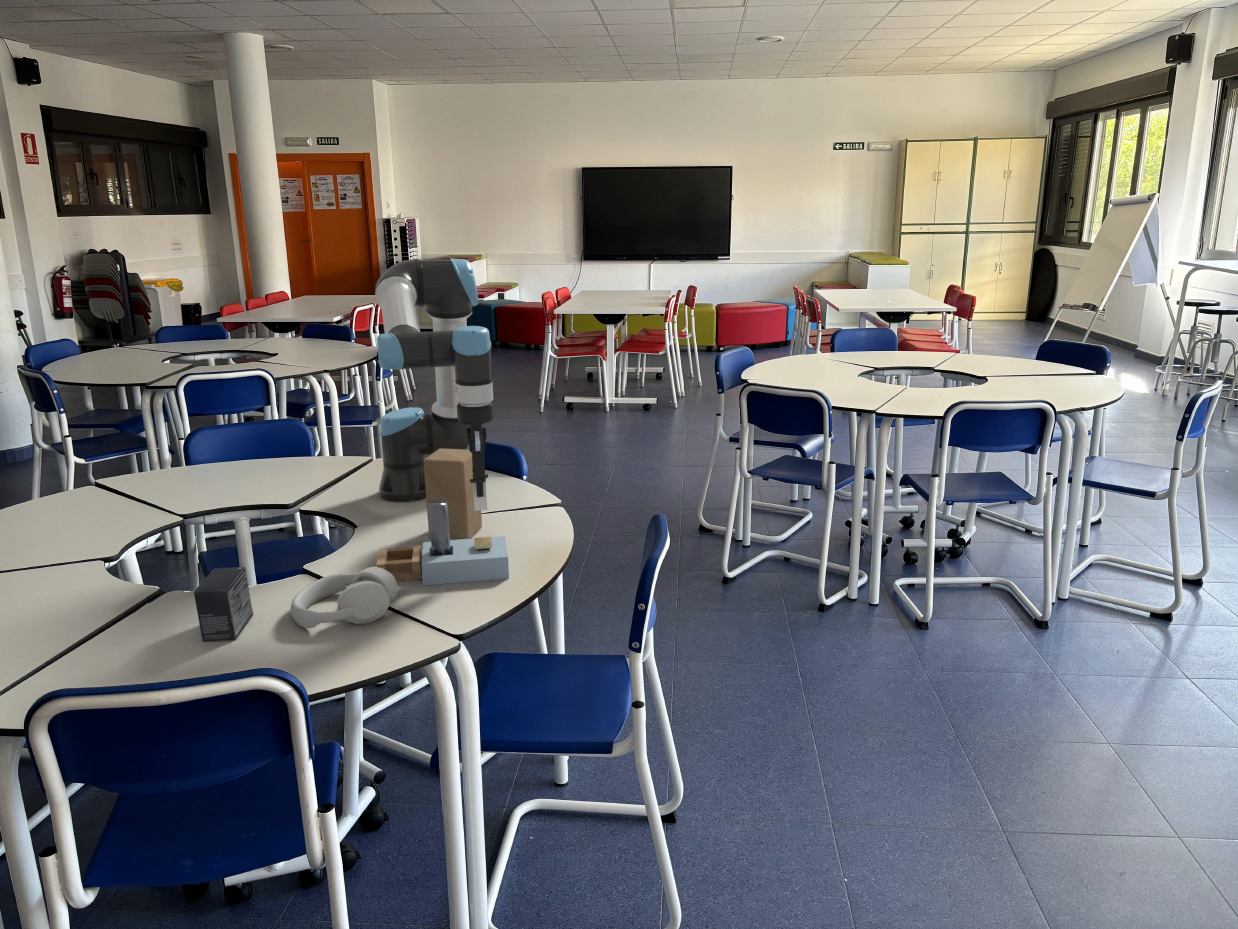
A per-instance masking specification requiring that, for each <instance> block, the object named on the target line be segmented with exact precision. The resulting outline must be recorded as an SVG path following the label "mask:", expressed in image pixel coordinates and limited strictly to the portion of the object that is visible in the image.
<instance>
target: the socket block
mask: <svg viewBox="0 0 1238 929" xmlns="http://www.w3.org/2000/svg"><path fill="white" fill-rule="evenodd" d="M490 537H491V542H492V548H488V550H480V551H479V549H475V541H474V538H475V537H474V538H473V537H472V538H471V539H460V540H450V548H451V555H443V556H432V548H431V541H424V542H422V563H421V564H422V585H423V586H434V585H444V584H458V583H470V582H481V581H482V582H483V581H493V580H495V581H496V580H504V579H506V580H507V579H510V568H509V554H508V549H507V542H506V541H507V540H506V536H504V535H503V536H490Z"/></svg>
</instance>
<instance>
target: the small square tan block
mask: <svg viewBox="0 0 1238 929" xmlns="http://www.w3.org/2000/svg"><path fill="white" fill-rule="evenodd" d="M491 537H492V536H483V537H482V536H480V537H474V541H475V549H479V551H480V550H488V548H492V542H491Z"/></svg>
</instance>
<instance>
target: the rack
mask: <svg viewBox="0 0 1238 929" xmlns="http://www.w3.org/2000/svg"><path fill="white" fill-rule="evenodd" d="M378 550H379V551H378V556H377V560H376V564H375V565H376V566H375V567H379V568H382V569H384V570H386V571H388V572H389V573H391V574H392V575H393V576H394V578H395V580H396V582H399V581H401V582H402V581H410V580H411V581H412V580H413V581H414V580H422V578H423V576H422V564H421V563H422V551H423V547H422V545H413V546H401V547H388V548H379V549H378Z"/></svg>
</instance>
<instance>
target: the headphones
mask: <svg viewBox="0 0 1238 929" xmlns="http://www.w3.org/2000/svg"><path fill="white" fill-rule="evenodd" d="M340 592H341V593H340ZM398 592H399V586H398V582H397V581H396V580H395V578H394V576H393V575H392V574H391V573H389V572H388V571H386V570H384V569H382V568H379V567H376V566H371V567H366V568H364V569H362V570H361V571H359V572H357V573H348V574H347V573H344V574H343V573H335V574H329V575H327V576H324V577H322V578H320V579H318V580H316V581H313V582H311V583H309V584H308V585H307V586H306V587H304V588H302V589H301V590H300V591H299V592H298V593H297V594H296V595H294V597H293V599H291V600H292V601H291V605H290V614H291V617H292V619H293V620H294V621H295V623H296V624H297V625H298V626H299V627H301V628H303V629H313V628H316V627H317V626H318V625H321V624H326V623H330V622H331V623H332V622H335V621H340V620H342V619H343V620H345V621H346V622H349V623H351V624H353V625H354V624H355V625H364V624H370V623H372V622H374V621H377V620H378V619H380V618H381V617H383V616H384V615H385V614H386V612H387V611H388V608H389V607H390V602H391V601H392V600H394V599H395V597H397V595H398ZM338 593H340V594H339V596H338V598H337V601H336V603H337V610H334V611H313V610H311V609H308V608H310V607H311V606H313V605H314V604H316V603H318V602H319V601H321V600H323V599H326V598H329V597H331V596H333V595H335V594H338Z"/></svg>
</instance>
